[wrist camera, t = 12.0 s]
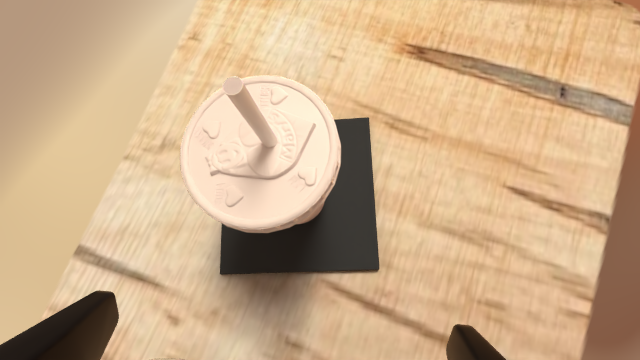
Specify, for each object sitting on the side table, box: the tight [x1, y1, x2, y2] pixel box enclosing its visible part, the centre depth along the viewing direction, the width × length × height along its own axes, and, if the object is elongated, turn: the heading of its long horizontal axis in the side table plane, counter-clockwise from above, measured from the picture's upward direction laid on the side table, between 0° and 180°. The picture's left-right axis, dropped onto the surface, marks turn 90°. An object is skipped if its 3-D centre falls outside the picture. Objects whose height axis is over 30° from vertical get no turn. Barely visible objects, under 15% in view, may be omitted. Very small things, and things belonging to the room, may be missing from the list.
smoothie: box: [180, 75, 341, 233], centre depth 16 cm, size 6×6×14 cm
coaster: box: [220, 118, 379, 274], centre depth 23 cm, size 10×10×1 cm
